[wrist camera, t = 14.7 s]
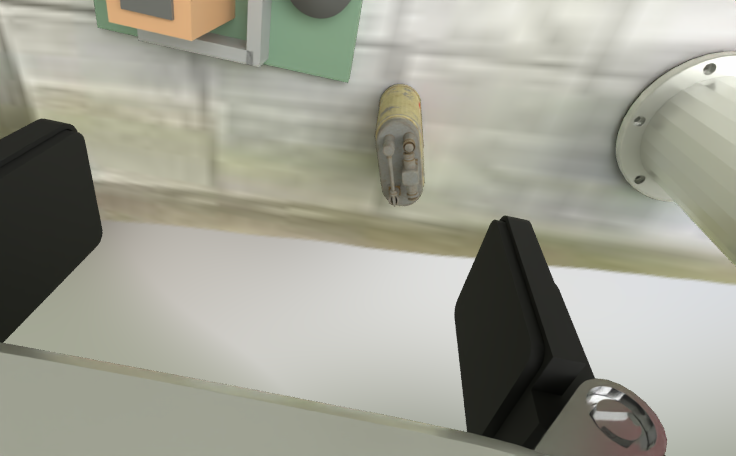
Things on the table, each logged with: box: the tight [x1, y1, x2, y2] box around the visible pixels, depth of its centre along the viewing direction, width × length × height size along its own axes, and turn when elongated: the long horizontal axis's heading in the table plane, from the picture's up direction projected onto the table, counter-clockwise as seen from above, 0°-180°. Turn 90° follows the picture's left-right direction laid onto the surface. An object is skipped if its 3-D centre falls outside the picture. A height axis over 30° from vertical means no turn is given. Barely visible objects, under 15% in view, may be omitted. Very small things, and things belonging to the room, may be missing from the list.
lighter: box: [375, 84, 425, 207], centre depth 34 cm, size 7×4×10 cm, turn 7°
